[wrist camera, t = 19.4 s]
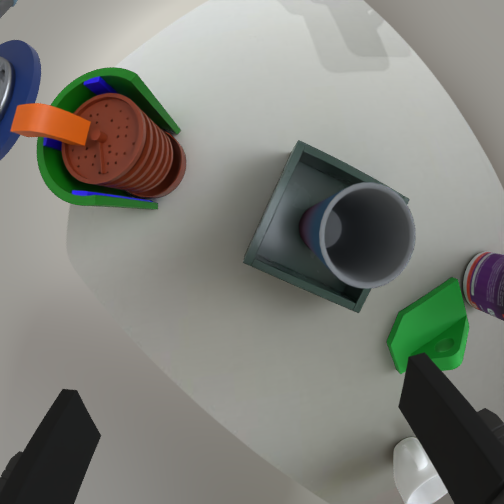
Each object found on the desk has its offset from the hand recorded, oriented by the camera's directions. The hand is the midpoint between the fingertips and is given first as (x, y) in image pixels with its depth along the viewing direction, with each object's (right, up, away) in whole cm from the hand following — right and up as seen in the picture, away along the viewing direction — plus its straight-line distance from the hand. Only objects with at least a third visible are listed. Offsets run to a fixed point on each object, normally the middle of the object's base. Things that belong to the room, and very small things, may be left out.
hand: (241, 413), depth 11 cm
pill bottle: (+32, +2, +25) cm, 41 cm away
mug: (+24, -23, +28) cm, 44 cm away
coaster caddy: (-11, +16, +24) cm, 31 cm away
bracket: (+23, -3, +26) cm, 35 cm away
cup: (+8, +9, +23) cm, 26 cm away
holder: (+8, +9, +24) cm, 27 cm away
